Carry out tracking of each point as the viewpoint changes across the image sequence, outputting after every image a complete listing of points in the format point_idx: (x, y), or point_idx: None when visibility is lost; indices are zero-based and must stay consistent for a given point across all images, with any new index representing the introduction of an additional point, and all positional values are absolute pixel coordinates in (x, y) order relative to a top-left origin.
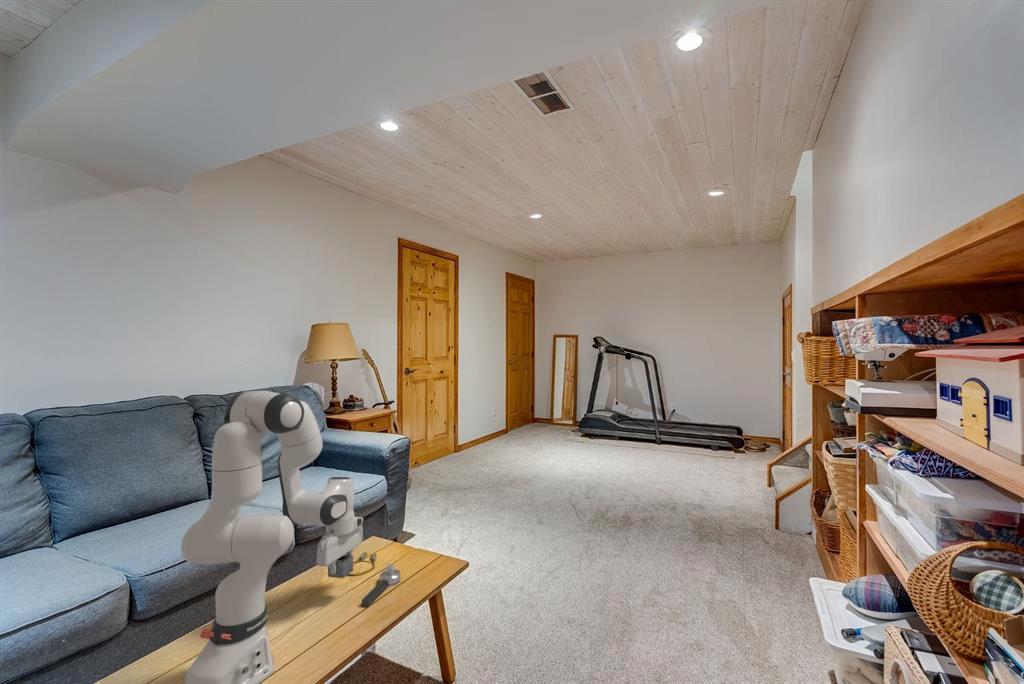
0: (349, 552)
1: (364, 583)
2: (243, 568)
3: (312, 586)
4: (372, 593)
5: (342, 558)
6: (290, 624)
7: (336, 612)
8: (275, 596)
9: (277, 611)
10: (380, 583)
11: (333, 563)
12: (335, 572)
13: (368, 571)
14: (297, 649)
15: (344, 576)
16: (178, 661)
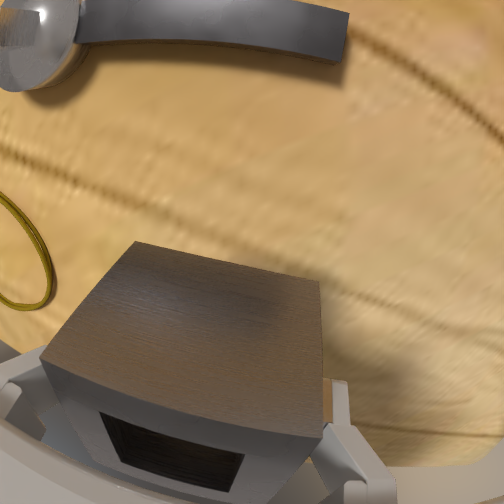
0: (25, 403)
1: (83, 163)
2: None
3: None
4: (245, 16)
5: (123, 424)
6: (440, 345)
7: (393, 198)
8: None
9: None
10: (110, 28)
11: (392, 493)
12: (341, 387)
13: (4, 198)
14: None
15: (291, 280)
16: (480, 442)
